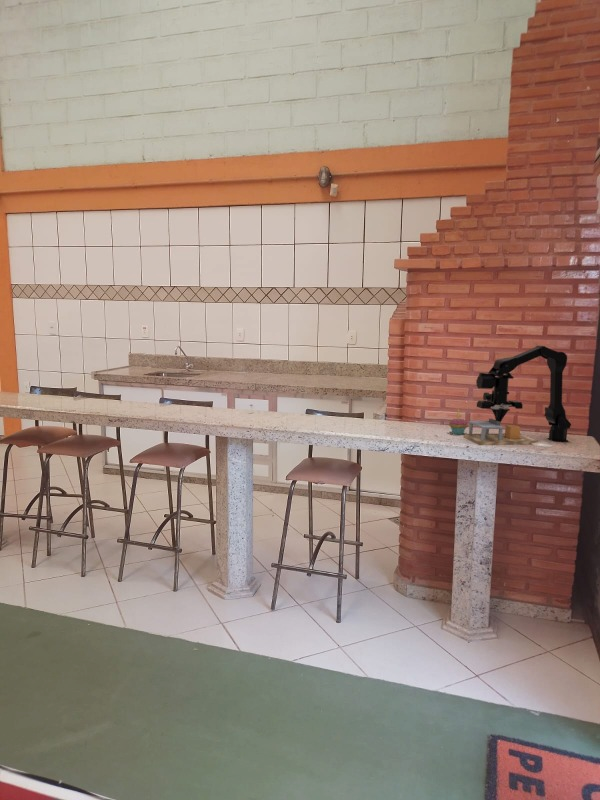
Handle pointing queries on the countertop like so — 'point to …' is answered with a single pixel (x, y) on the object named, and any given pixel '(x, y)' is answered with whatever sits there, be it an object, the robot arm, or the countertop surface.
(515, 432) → the block
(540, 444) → the dish
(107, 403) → the countertop surface
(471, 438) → the board
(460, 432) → the cupcake
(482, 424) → the grey toy table
